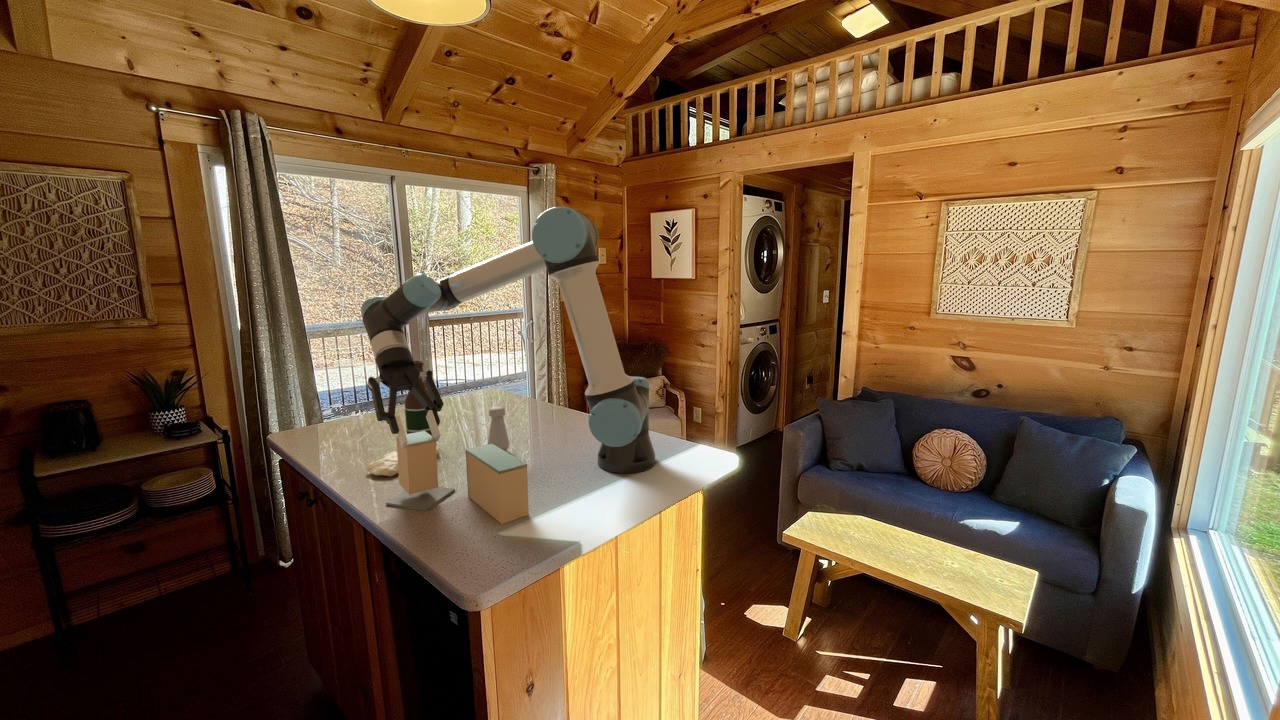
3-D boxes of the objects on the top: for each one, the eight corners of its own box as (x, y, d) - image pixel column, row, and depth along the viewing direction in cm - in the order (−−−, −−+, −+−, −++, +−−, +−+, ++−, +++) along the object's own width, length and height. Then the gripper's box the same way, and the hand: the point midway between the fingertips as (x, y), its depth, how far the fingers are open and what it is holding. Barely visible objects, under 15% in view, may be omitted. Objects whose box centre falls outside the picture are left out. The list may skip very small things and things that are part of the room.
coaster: (455, 491, 117) (454, 488, 116) (426, 510, 107) (426, 508, 107) (417, 486, 119) (416, 484, 119) (386, 505, 109) (385, 502, 109)
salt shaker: (503, 457, 138) (501, 410, 136) (484, 455, 139) (481, 409, 137) (513, 450, 143) (511, 405, 141) (494, 448, 145) (492, 404, 142)
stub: (399, 483, 113) (396, 436, 111) (426, 477, 117) (424, 430, 115) (409, 494, 108) (406, 444, 106) (438, 487, 112) (435, 439, 110)
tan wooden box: (468, 496, 114) (465, 449, 112) (494, 489, 118) (491, 443, 116) (501, 524, 102) (499, 471, 100) (528, 514, 105) (527, 463, 104)
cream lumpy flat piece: (355, 473, 127) (423, 450, 144) (391, 484, 121) (457, 458, 138) (354, 459, 126) (422, 437, 144) (390, 469, 120) (456, 445, 138)
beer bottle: (441, 441, 150) (436, 361, 146) (418, 448, 144) (411, 365, 140) (425, 436, 155) (419, 358, 150) (401, 443, 148) (395, 362, 144)
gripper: (431, 360, 126) (461, 441, 116) (344, 369, 114) (369, 460, 104) (438, 341, 121) (469, 424, 112) (348, 349, 109) (374, 442, 99)
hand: (421, 441), depth 108 cm, fingers closed on stub, 6 cm apart
